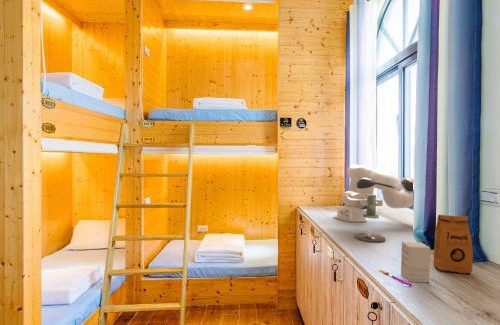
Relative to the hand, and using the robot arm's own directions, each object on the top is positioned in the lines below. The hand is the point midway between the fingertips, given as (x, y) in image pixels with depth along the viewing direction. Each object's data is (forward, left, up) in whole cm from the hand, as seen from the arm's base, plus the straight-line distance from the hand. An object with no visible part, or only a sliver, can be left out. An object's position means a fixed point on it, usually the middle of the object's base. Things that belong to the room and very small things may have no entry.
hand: (372, 204), depth 173 cm
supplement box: (+40, -40, -19) cm, 60 cm away
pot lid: (-1, 0, -19) cm, 19 cm away
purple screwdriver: (+35, -46, -19) cm, 61 cm away
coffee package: (+45, -18, -19) cm, 52 cm away
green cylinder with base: (-1, 0, -7) cm, 7 cm away
